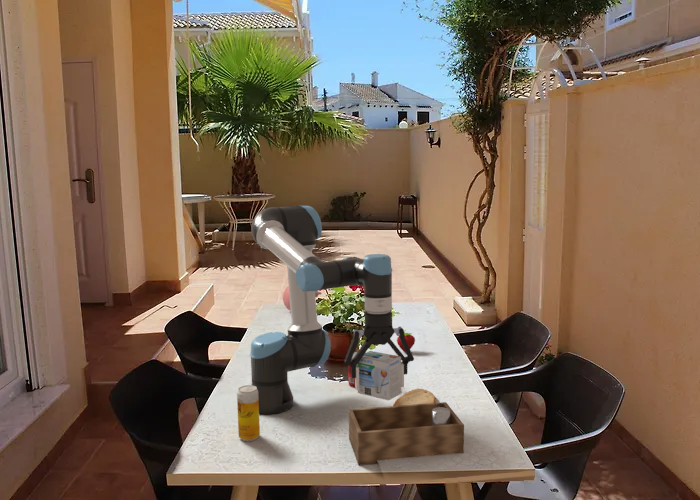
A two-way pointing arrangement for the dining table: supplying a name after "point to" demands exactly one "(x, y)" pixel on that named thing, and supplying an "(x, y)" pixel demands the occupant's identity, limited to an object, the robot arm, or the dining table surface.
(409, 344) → the strawberry
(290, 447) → the dining table surface
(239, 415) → the beer can
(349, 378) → the canned food
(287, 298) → the pink rounded piece
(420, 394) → the slice of bread
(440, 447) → the crate
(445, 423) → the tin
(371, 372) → the light bulb box
